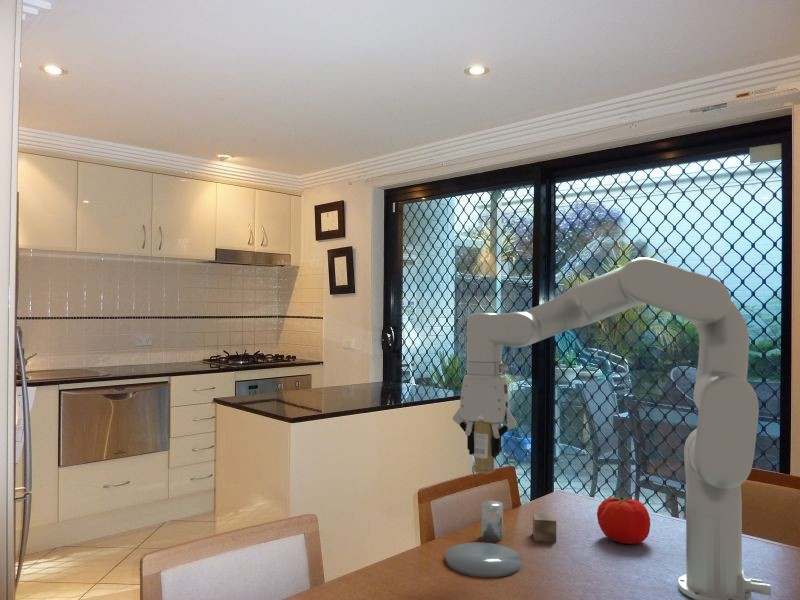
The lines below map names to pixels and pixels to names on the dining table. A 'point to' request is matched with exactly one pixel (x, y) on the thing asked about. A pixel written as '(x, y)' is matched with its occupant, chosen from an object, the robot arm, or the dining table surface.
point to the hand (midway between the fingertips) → (484, 453)
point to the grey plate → (483, 559)
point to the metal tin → (492, 520)
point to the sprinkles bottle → (483, 447)
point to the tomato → (624, 520)
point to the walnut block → (544, 527)
